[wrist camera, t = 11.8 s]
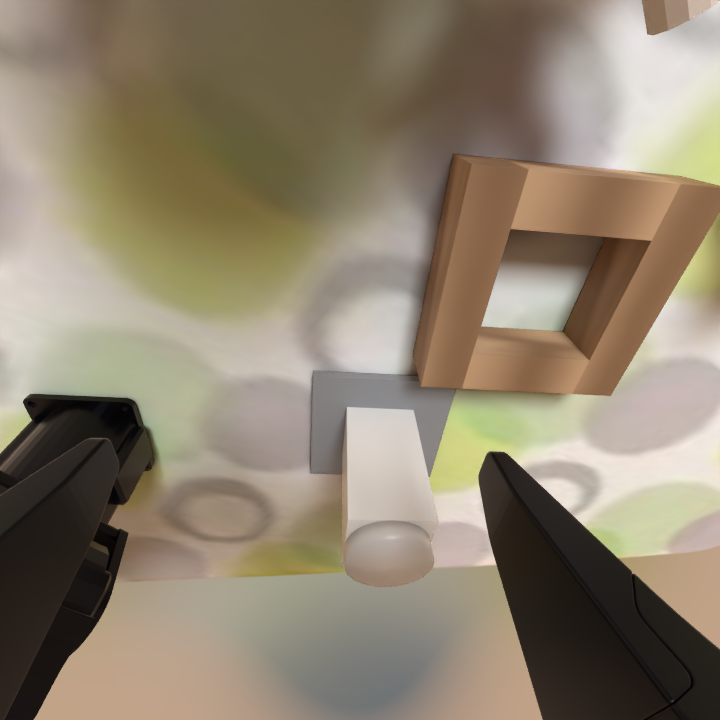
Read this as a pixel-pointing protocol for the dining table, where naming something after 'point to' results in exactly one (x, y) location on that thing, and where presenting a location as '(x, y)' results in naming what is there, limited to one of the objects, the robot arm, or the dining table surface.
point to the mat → (372, 392)
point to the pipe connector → (672, 13)
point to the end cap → (385, 499)
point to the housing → (599, 294)
